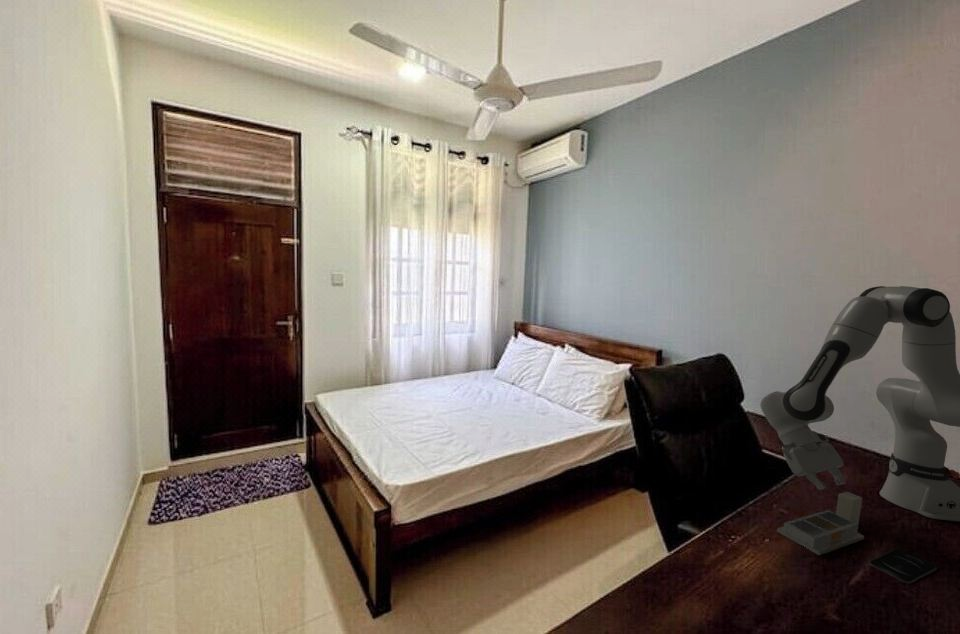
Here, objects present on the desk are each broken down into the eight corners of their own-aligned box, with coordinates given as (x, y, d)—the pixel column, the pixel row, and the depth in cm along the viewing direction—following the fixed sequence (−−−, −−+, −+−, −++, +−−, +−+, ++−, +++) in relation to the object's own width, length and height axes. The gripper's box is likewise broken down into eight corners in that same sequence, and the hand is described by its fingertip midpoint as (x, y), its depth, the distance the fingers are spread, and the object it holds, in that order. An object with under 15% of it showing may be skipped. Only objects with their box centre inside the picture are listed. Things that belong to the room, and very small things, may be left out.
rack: (820, 518, 118) (822, 506, 118) (863, 539, 109) (865, 527, 109) (776, 531, 111) (778, 519, 110) (819, 555, 102) (821, 542, 101)
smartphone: (867, 561, 100) (897, 547, 106) (866, 565, 100) (897, 550, 106) (908, 583, 93) (938, 566, 99) (908, 587, 93) (938, 570, 99)
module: (843, 517, 120) (847, 491, 119) (858, 524, 117) (862, 497, 116) (834, 520, 118) (838, 493, 117) (849, 527, 115) (853, 500, 114)
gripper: (788, 441, 122) (821, 488, 114) (828, 434, 130) (862, 478, 122) (771, 449, 127) (801, 495, 119) (811, 442, 135) (842, 485, 127)
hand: (832, 486), depth 120 cm, fingers open, 8 cm apart
